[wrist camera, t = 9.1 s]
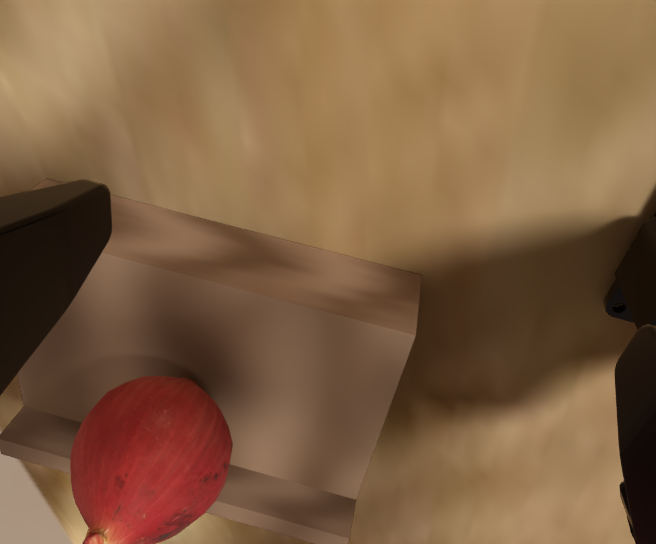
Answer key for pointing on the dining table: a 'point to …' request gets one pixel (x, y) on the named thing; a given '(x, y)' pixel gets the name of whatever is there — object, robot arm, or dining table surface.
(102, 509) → the onion
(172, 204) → the dining table surface
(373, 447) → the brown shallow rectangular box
